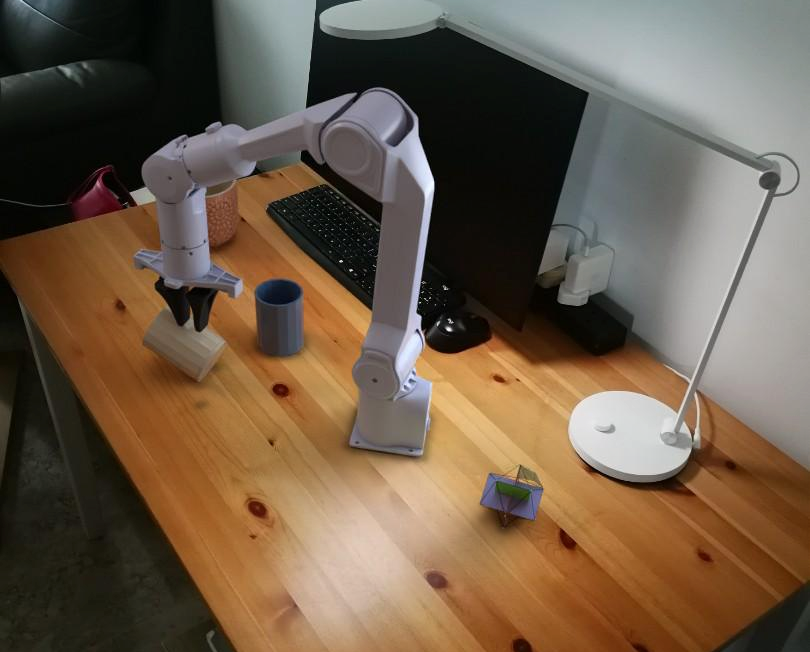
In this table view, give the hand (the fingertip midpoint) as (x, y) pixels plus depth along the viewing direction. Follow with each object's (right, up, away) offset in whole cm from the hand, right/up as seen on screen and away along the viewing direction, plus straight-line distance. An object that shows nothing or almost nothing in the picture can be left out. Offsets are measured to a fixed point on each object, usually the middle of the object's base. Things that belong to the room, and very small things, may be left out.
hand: (192, 324), depth 113 cm
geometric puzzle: (+41, -24, -10) cm, 48 cm away
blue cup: (+10, -2, +12) cm, 16 cm away
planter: (-6, +17, +32) cm, 37 cm away
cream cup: (+2, -5, +3) cm, 6 cm away
